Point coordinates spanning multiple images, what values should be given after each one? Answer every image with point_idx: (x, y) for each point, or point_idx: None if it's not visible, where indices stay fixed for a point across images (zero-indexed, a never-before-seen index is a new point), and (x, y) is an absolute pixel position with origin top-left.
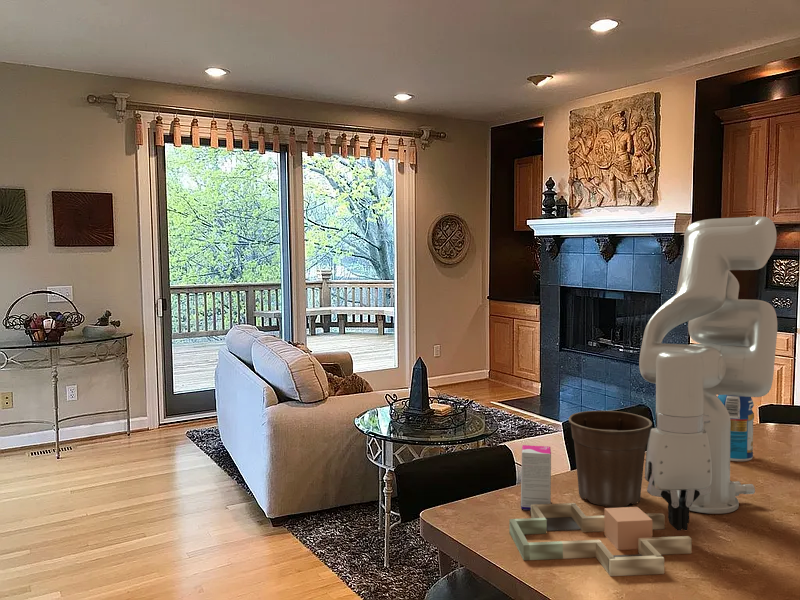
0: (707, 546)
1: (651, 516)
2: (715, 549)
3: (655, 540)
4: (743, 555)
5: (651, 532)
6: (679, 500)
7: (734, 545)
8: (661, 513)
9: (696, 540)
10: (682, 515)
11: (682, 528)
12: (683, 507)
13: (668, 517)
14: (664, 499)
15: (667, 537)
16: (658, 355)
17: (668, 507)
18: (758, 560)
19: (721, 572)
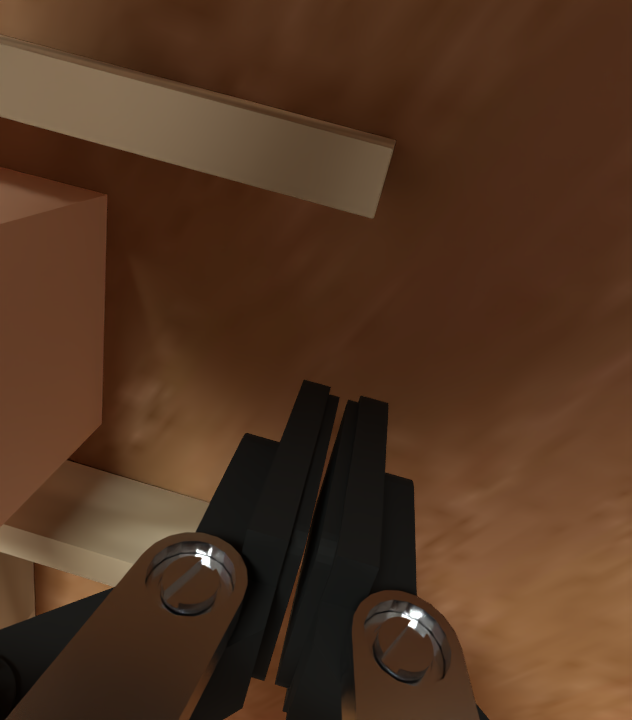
0: (443, 531)
1: (225, 173)
2: (454, 571)
3: (21, 555)
4: (534, 663)
5: (29, 488)
6: (307, 672)
7: (618, 584)
8: (378, 156)
9: (451, 450)
10: (293, 605)
11: (314, 511)
12: (288, 690)
13: (238, 449)
14: (86, 608)
15: (113, 563)
16: None
17: (200, 526)
18: (550, 714)
19: (281, 698)
